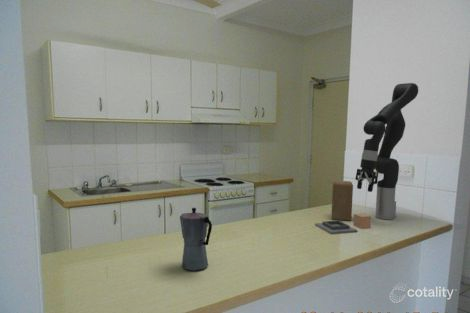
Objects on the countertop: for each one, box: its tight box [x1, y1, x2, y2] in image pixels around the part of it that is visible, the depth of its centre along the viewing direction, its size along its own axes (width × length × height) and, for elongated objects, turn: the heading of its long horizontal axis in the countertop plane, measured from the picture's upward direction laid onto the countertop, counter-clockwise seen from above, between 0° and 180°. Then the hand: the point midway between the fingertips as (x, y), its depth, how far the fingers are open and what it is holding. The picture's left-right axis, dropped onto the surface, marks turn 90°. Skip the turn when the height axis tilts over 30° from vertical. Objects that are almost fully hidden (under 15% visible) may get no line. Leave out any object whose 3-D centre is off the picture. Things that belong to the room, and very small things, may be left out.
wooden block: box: [331, 180, 354, 222], centre depth 170 cm, size 10×10×20 cm
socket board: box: [314, 220, 358, 235], centre depth 152 cm, size 14×14×2 cm
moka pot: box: [179, 207, 213, 271], centre depth 106 cm, size 10×15×20 cm, turn 51°
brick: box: [353, 212, 372, 230], centre depth 156 cm, size 6×6×6 cm
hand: (364, 190), depth 163 cm, fingers open, 8 cm apart
